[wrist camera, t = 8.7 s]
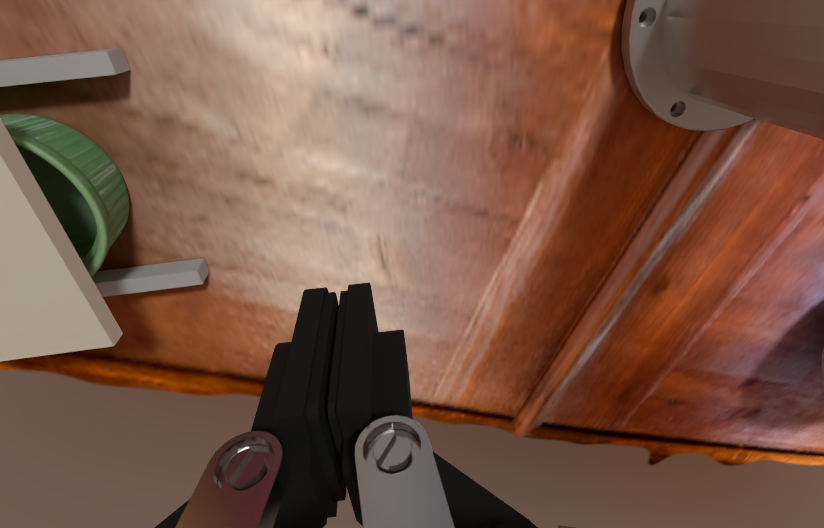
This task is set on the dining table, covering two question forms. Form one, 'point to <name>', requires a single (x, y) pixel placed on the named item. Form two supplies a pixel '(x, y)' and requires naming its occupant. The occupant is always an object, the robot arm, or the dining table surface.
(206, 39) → the dining table surface
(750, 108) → the robot arm
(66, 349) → the overhang shelf
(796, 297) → the dining table surface
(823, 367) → the cereal bowl
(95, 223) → the ramekin
